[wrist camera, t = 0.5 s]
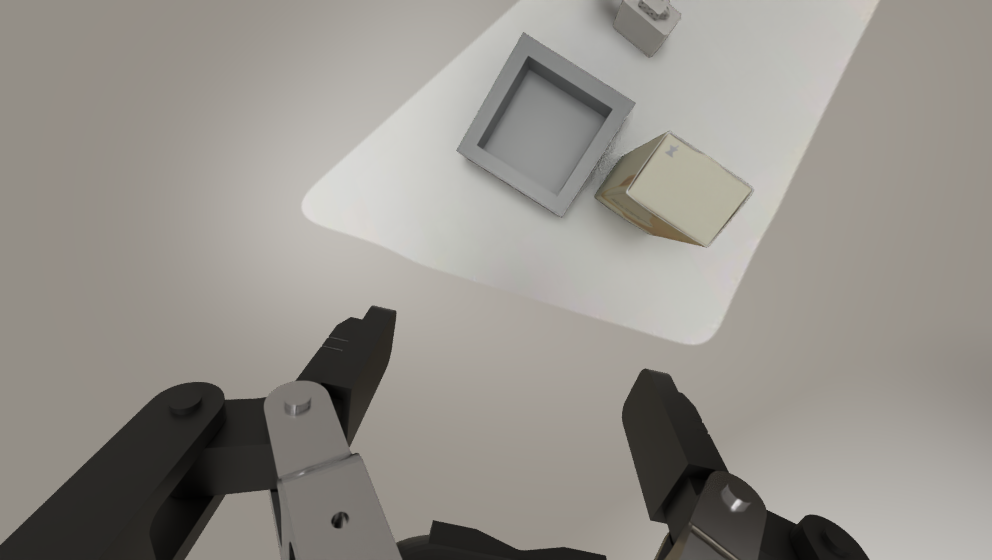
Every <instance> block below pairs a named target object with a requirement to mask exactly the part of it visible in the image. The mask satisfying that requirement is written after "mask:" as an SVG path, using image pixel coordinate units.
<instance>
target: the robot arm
mask: <svg viewBox="0 0 992 560" xmlns="http://www.w3.org/2000/svg"><path fill="white" fill-rule="evenodd" d="M395 322H396V311H395V310H390V309H386V308H382V307H377V306H371V307H370V309H369V310H368V312H367V313H366V315H365V317H364V318H363V319H362V320H361V319H357V318H353V317H350V318H349V319H347V320H345V321H343V322H342V323H340V324H338V325H337V326H336V327H335V329H334V330H333V331H332V333H331V334H330V335H329V338H327V339H326V341H325V342H324V344H323V345H322V347H321V348H320V349H319V350H318V351H317V353H316V354H315V356H314V357H313V358H312V359H311V361H310V362H309V363H308V365H307V366H306V367H305V369H304V370H303V372H302V373H301V374H300V375H299V377H298V378H297V380H296V381H294V382H289V383H286V384H284V385H281V386H279V387H277V388H276V389H274V390H273V391H272V392H271V393H270V394H269V395H268V397H264V398H257V399H234V400H225V398H224V393H223V391H222V390H221V389H220V388H219V387H217V386H216V385H213V384H210V383H205V382H192V383H184V384H180V385H177V386H174V387H171V388H169V389H167V390H165V391H163V392H161V393H160V394H158V395H157V396H155V398H153V399H152V400H151V401H150V402H149V403H148V404H147V405H146V406H145V407H143V408H142V409H141V410H140V412H138V413H137V414H136V415H135V416H134V417H133V418H132V419H131V420H130V421H129V422H128V423H127V424H126V425H125V426H124V427H123V428H122V429H121V430H120V431H119V432H118V433H116V434H115V435H114V436H113V437H112V438H111V439H110V440H109V441H108V442H107V443H106V444H105V445H104V446H103V447H102V448H101V449H100V450H99V451H98V452H97V453H96V454H95V455H94V456H93V457H91V458H90V459H89V460H88V461H87V462H86V463H85V464H84V465H83V466H82V467H81V468H80V469H79V470H78V471H77V472H76V473H75V474H74V475H73V476H72V477H71V478H70V479H69V480H68V481H67V482H66V483H64V484H63V485H62V486H61V487H60V488H59V489H58V490H57V491H56V492H55V493H54V494H53V495H52V496H51V497H50V498H49V499H48V500H47V501H46V502H45V503H44V504H43V505H42V506H41V507H39V508H38V509H37V510H36V511H35V512H34V513H33V514H32V515H31V516H30V517H29V518H28V519H27V520H26V521H25V522H24V523H23V524H22V525H21V526H20V527H19V528H18V529H17V530H16V531H15V532H13V533H12V534H11V535H10V536H9V537H8V538H7V539H6V540H5V541H4V542H3V543H2V544H1V545H0V560H184V559H185V558H186V556H187V555H188V553H189V552H190V550H191V549H192V547H193V545H194V544H195V542H196V541H197V539H198V538H199V536H200V534H201V533H202V531H203V530H204V528H205V526H206V525H207V523H208V522H209V520H210V518H211V517H212V516H213V514H214V512H215V511H216V509H217V508H218V506H219V504H220V503H221V501H222V500H223V498H224V497H225V495H226V494H233V493H242V492H251V491H261V490H268V491H269V497H270V502H271V508H272V514H273V519H274V524H275V529H276V535H277V541H278V545H279V551H280V557H281V560H606V556H605V555H600V554H595V553H591V552H586V551H581V550H576V549H571V548H566V547H560V548H548V549H537V550H525V551H524V550H518V549H515V548H513V547H511V546H509V545H507V544H505V543H503V542H501V541H499V540H497V539H495V538H493V537H491V536H489V535H487V534H485V533H483V532H481V531H479V530H477V529H473V528H468V527H463V526H458V525H453V524H448V523H444V522H439V521H434V520H433V523H432V527H431V530H430V534H429V535H423V536H417V537H412V538H408V539H405V540H403V541H399V542H397V543H396V542H395V540H394V537H393V535H392V533H391V530H390V527H389V525H388V522H387V520H386V517H385V515H384V512H383V510H382V507H381V505H380V502H379V499H378V497H377V495H376V492H375V489H374V487H373V484H372V482H371V479H370V477H369V474H368V472H367V469H366V467H365V464H364V462H363V459H362V458H361V456H360V455H359V454H358V453H355V454H352V453H351V451H350V449H349V447H350V445H351V443H352V441H353V439H354V437H355V434H356V432H357V430H358V428H359V426H360V424H361V421H362V419H363V417H364V415H365V413H366V411H367V409H368V407H369V404H370V402H371V400H372V398H373V396H374V394H375V392H376V390H377V387H378V385H379V383H380V381H381V379H382V377H383V374H384V372H385V370H386V368H387V365H388V362H389V359H390V355H391V350H392V343H393V336H394V329H395ZM622 422H623V426H624V429H625V433H626V436H627V440H628V443H629V447H630V450H631V454H632V458H633V461H634V464H635V468H636V471H637V475H638V478H639V482H640V485H641V489H642V493H643V496H644V500H645V503H646V507H647V510H648V514H649V517H650V520H651V521H656V522H661V523H666V524H667V525H668V528H669V532H668V533H667V535H666V536H665V538H664V540H663V542H662V544H661V546H660V548H659V550H658V553H657V554H656V556H655V559H654V560H869V558H868V557H867V555H866V554H865V552H864V551H863V550H862V548H861V547H860V545H859V544H858V543H857V542H856V541H855V540H854V539H853V538H852V537H851V536H850V535H849V534H848V533H847V532H846V531H845V530H843V529H842V528H841V527H839V526H838V525H836V524H835V523H833V522H832V521H830V520H828V519H826V518H823V517H821V516H818V515H807V516H805V517H804V518H803V519H802V520H801V521H800V522H799V523H798V524H795V523H793V522H791V521H788V520H787V519H785V518H783V517H780V516H778V515H776V514H774V513H772V512H770V511H768V510H766V507H765V505H764V503H763V501H762V499H761V498H760V496H759V495H758V494H757V493H756V491H755V490H754V489H753V488H752V487H751V486H750V485H748V484H747V483H746V482H745V481H743V480H742V479H740V478H738V477H737V476H735V475H733V474H730V473H729V472H728V470H727V468H726V466H725V464H724V462H723V460H722V458H721V456H720V454H719V452H718V450H717V448H716V447H715V445H714V443H713V441H712V439H711V437H710V435H709V434H708V431H707V429H706V427H705V425H704V423H702V419H701V417H700V415H699V414H698V412H697V410H696V408H695V406H694V405H693V404H692V403H691V402H690V401H689V400H688V398H687V397H686V396H685V395H684V394H683V393H680V392H678V390H677V388H676V386H675V384H674V382H673V380H672V378H671V376H670V375H669V374H667V373H663V372H658V371H654V370H649V369H643V370H642V371H641V372H640V374H639V376H638V378H637V380H636V382H635V384H634V385H633V387H632V389H631V391H630V393H629V395H628V397H627V399H626V401H625V403H624V406H623V411H622Z"/></svg>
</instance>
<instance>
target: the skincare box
mask: <svg viewBox="0 0 992 560" xmlns="http://www.w3.org/2000/svg"><path fill="white" fill-rule="evenodd" d="M753 192H754V189H753V187H752V186H751V185H749V184H748V183H746V182H745V181H743V180H742V179H741V178H739V177H738V176H736V175H735V174H733V173H732V172H730V171H729V170H728V169H726V168H724V167H723V166H722V165H720V164H719V163H717V162H716V161H715V160H713V159H712V158H710V157H709V156H707V155H705V154H704V153H702V152H701V151H699V150H698V149H696V148H695V147H693V146H692V145H690V144H689V143H687V142H686V141H684V140H683V139H681V138H680V137H678V136H677V135H675V134H674V133H673V132H671V131H668V132H666V133H664V134H662V135H660V136H659V137H657V138H655V139H653V140H651V141H650V142H648V143H646V144H644V145H642V146H640V147H638V148H637V149H635V150H633V151H631V152H629V153H627V154H626V155H624V156H622V157H621V159H620V160H619V161H618V163H617V164H616V165H615V167H614V168H613V169H612V171H611V172H610V173H609V175H608V176H607V178H606V179H605V181H604V182H603V183H602V185H601V187H600V188H599V190H598V191H597V193H596V194H595V198H596V199H597V200H599V201H600V202H601V203H603V204H604V205H605V206H607V207H608V208H610V209H611V210H612V211H614V212H615V213H617V214H618V215H620V216H621V217H623V218H624V219H626V220H627V221H629V222H630V223H632V224H634V225H635V226H637V227H638V228H640V229H642V230H643V231H645V232H646V233H648V234H650V235H655V236H659V237H664V238H668V239H672V240H677V241H681V242H686V243H690V244H694V245H699V246H703V247H709V246H710V245H711V243H712V242H713V241H714V240H715V238H716V237H717V236H718V235H719V234H720V233H721V232H722V230H723V229H724V228H725V227H726V226H727V225H728V224H729V222H730V221H731V220H732V218H733V217H734V216H735V215H736V214H737V212H738V211H739V210H740V209H741V208H742V206H743V205H744V204H745V203H746V201H747V200H748V199H749V198H750V196H751V195H752V194H753Z"/></svg>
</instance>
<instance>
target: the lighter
mask: <svg viewBox="0 0 992 560" xmlns="http://www.w3.org/2000/svg"><path fill="white" fill-rule="evenodd" d="M669 2H670V1H669V0H623V1H622V3H621V6H620V8H619V11H618V13H617V16H616V18H615V21H614V24H613V28H614V29H616V30H617V31H618V32H619V33H620V34H622V35H623V36H624V37H625V38H626V39H627V40H629V41H630V42H631V43H632V44H633V45H635V46H636V47H637V48H638V49H639V50H640V51H642V52H643V53H644V54H645V55H646V56H648V57H652V56H653V54H654V53H655V52H656V51H657V50H658V48H659V47H660V46H661V45H662V43H663V42H664V41H665V39H666V38H667V37H668V35H669V34H670V33H671V31H672V30H673V28H674V27H675V26H676V24H677V23H678V22H679V20H680V19H681V13H679V12H678V11H677V10H676V9H675V8H674V7H672V6H671V5H670V4H669Z"/></svg>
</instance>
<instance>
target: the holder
mask: <svg viewBox="0 0 992 560" xmlns="http://www.w3.org/2000/svg"><path fill="white" fill-rule="evenodd" d="M634 105H635V102H633V101H632V100H630V99H629V98H627V97H625V96H624V95H622V94H621V93H619V92H617V91H616V90H614V89H613V88H611V87H610V86H608V85H606V84H605V83H603V82H602V81H600V80H598V79H597V78H595V77H594V76H592V75H591V74H589V73H587V72H586V71H584V70H583V69H581V68H579V67H578V66H576V65H575V64H573V63H572V62H570V61H568V60H567V59H565V58H564V57H562V56H560V55H559V54H557V53H556V52H554V51H552V50H551V49H549V48H548V47H546V46H545V45H543V44H541V43H540V42H538V41H537V40H535V39H533V38H532V37H530V36H529V35H527V34H526V33H524V32H523V33H522V35H521V37H520V39H519V40H518V42H517V44H516V46H515V48H514V49H513V51H512V53H511V55H510V56H509V58H508V60H507V62H506V64H505V65H504V67H503V69H502V71H501V72H500V74H499V76H498V78H497V79H496V81H495V83H494V85H493V87H492V88H491V90H490V92H489V94H488V95H487V97H486V99H485V101H484V102H483V104H482V106H481V108H480V110H479V111H478V113H477V115H476V117H475V118H474V120H473V122H472V124H471V125H470V127H469V129H468V131H467V133H466V134H465V136H464V138H463V140H462V141H461V143H460V145H459V147H458V148H457V150H456V151H457V152H459V153H460V154H462V155H463V156H464V157H466V158H467V159H469V160H471V161H472V162H474V163H475V164H477V165H479V166H480V167H482V168H483V169H485V170H486V171H488V172H490V173H491V174H493V175H494V176H496V177H498V178H499V179H501V180H502V181H504V182H505V183H507V184H509V185H510V186H512V187H513V188H515V189H517V190H518V191H520V192H521V193H523V194H524V195H526V196H528V197H529V198H531V199H532V200H534V201H536V202H537V203H539V204H540V205H542V206H543V207H545V208H547V209H548V210H550V211H551V212H553V213H555V214H556V215H558V216H559V217H562V216H563V215H564V213H565V212H566V210H567V208H568V207H569V205H570V204H571V202H572V201H573V199H574V198H575V196H576V195H577V193H578V191H579V190H580V188H581V187H582V185H583V184H584V182H585V181H586V179H587V178H588V176H589V174H590V173H591V171H592V170H593V168H594V167H595V165H596V164H597V162H598V161H599V159H600V157H601V156H602V154H603V153H604V151H605V150H606V148H607V147H608V145H609V144H610V142H611V140H612V139H613V137H614V136H615V134H616V133H617V131H618V130H619V128H620V127H621V125H622V123H623V122H624V120H625V119H626V117H627V116H628V114H629V113H630V111H631V110H632V108H633V106H634Z"/></svg>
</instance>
